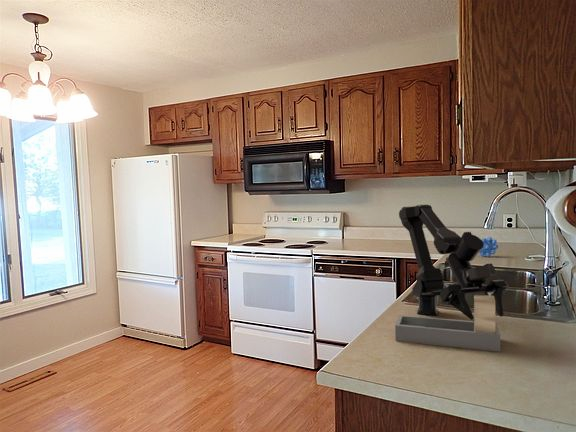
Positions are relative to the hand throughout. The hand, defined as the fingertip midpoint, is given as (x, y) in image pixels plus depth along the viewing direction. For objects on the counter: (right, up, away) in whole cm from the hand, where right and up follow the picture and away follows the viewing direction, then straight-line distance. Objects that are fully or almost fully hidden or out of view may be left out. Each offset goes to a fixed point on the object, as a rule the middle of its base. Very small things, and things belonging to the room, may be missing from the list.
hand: (487, 317), depth 114 cm
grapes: (+64, +3, +134) cm, 149 cm away
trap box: (-9, -8, +5) cm, 13 cm away
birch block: (0, -6, +2) cm, 6 cm away
